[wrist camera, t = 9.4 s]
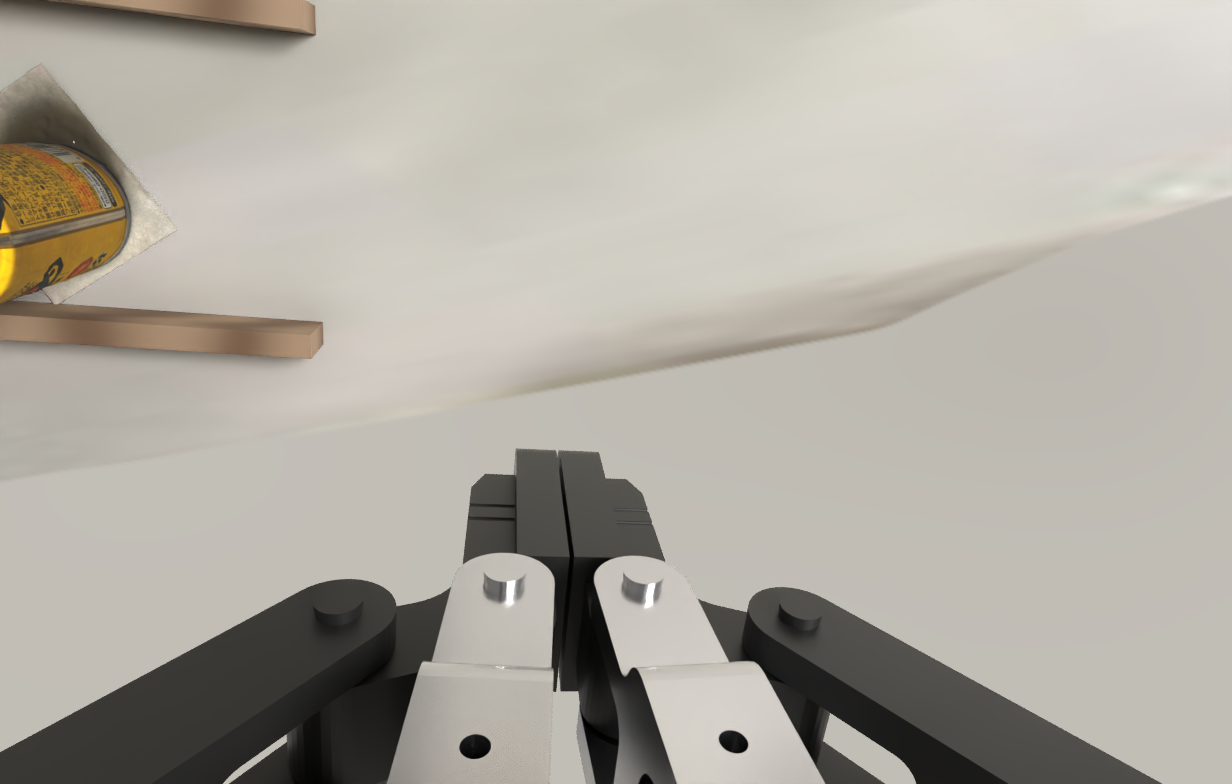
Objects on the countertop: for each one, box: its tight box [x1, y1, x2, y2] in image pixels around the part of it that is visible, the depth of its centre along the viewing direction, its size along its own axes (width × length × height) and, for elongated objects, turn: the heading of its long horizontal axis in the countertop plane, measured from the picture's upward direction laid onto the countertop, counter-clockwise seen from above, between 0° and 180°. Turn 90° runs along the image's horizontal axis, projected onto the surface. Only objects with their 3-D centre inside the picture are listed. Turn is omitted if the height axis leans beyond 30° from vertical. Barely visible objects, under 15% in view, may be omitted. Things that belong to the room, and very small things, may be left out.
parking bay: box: [0, 0, 323, 359], centre depth 33 cm, size 20×16×4 cm
